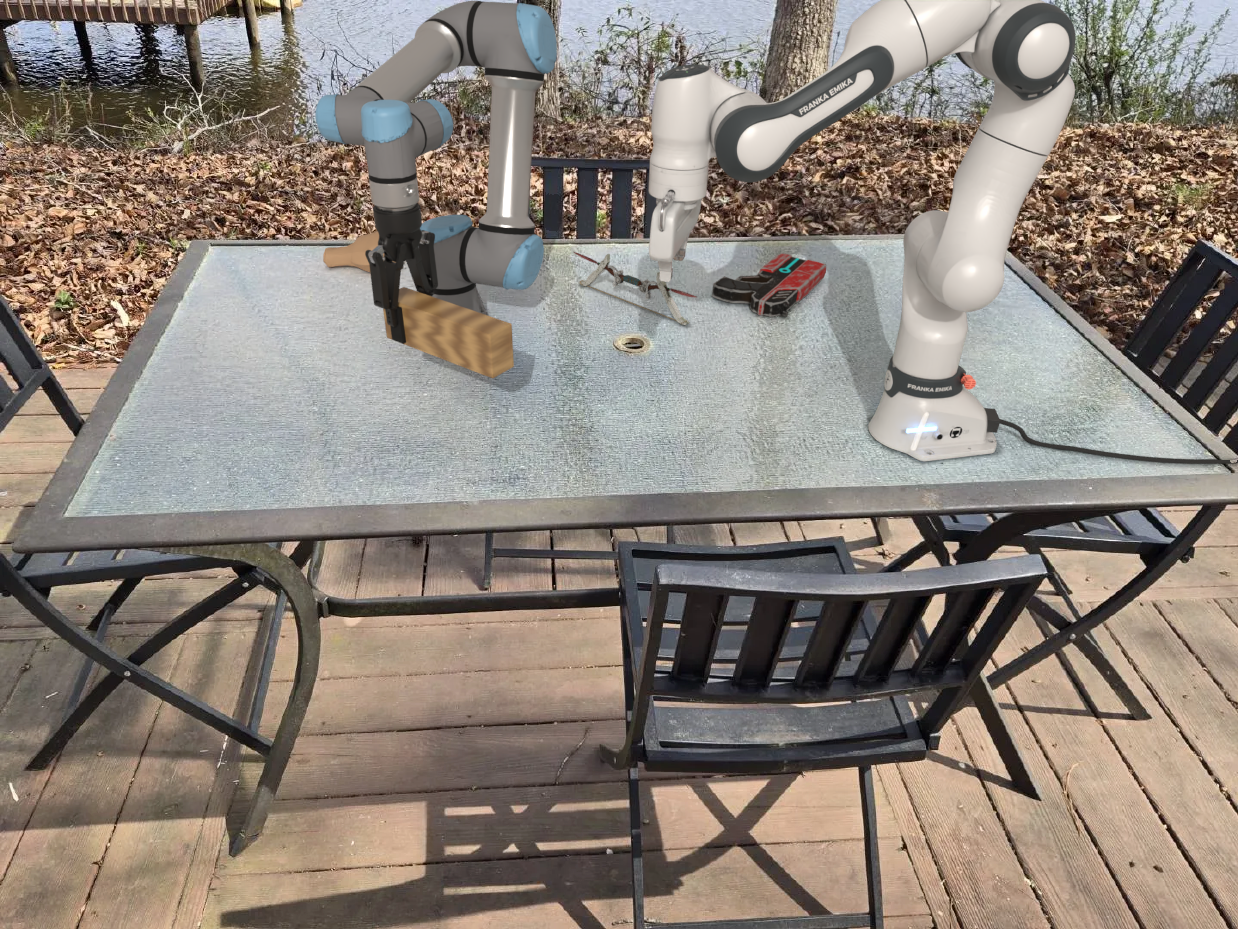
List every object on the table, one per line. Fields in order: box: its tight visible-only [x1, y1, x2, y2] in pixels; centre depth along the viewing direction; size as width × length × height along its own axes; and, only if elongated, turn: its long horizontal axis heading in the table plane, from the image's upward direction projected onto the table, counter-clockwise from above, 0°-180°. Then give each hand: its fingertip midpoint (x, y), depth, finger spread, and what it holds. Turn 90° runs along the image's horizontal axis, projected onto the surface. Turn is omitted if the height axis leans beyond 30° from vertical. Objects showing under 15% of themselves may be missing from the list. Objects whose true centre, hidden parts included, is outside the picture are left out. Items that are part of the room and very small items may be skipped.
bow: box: [573, 251, 698, 326], centre depth 205 cm, size 39×2×10 cm, turn 47°
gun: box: [711, 252, 827, 318], centre depth 215 cm, size 4×31×19 cm
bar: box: [382, 286, 515, 379], centre depth 149 cm, size 25×5×8 cm, turn 55°
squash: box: [322, 230, 396, 273], centre depth 220 cm, size 11×20×9 cm, turn 90°
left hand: (411, 334), depth 155 cm, fingers closed on bar, 5 cm apart
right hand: (672, 269), depth 140 cm, fingers open, 8 cm apart
